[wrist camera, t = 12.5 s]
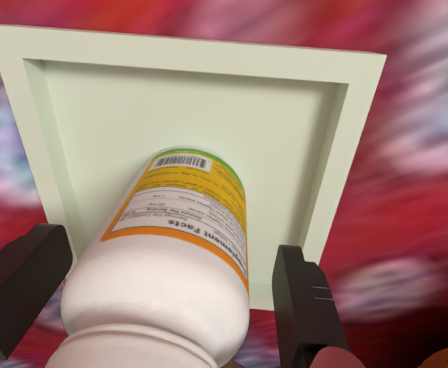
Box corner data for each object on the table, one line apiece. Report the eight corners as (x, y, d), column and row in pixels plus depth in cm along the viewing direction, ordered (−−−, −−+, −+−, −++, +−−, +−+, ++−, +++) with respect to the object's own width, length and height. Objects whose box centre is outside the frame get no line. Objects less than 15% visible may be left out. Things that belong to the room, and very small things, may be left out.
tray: (368, 51, 11) (387, 55, 9) (297, 290, 18) (302, 313, 16) (17, 24, 11) (-15, 24, 10) (83, 271, 18) (70, 292, 17)
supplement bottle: (191, 248, 16) (136, 503, 7) (117, 186, 14) (-71, 431, 6) (267, 198, 14) (309, 467, 5) (192, 118, 12) (80, 337, 4)
